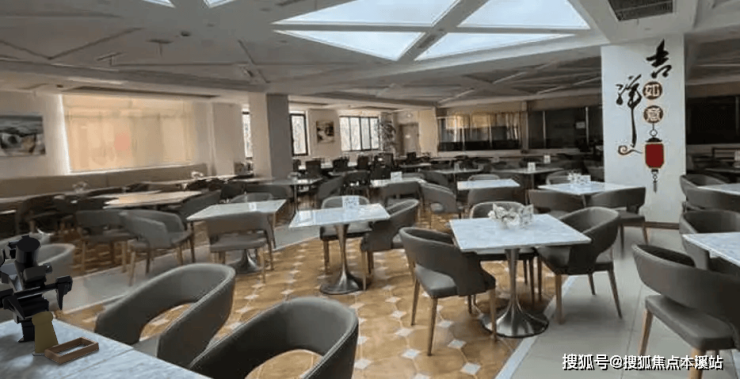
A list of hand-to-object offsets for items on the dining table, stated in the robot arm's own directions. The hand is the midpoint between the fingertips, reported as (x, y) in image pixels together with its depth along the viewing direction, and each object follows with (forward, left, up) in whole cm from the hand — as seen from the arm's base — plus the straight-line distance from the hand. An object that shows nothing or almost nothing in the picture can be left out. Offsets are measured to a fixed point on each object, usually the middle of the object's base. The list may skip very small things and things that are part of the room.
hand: (43, 314), depth 137 cm
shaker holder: (+4, +8, -11) cm, 14 cm away
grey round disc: (-1, -1, -11) cm, 11 cm away
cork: (-1, -1, -11) cm, 11 cm away
